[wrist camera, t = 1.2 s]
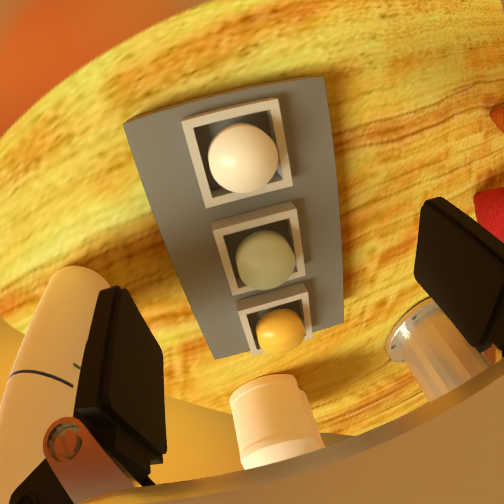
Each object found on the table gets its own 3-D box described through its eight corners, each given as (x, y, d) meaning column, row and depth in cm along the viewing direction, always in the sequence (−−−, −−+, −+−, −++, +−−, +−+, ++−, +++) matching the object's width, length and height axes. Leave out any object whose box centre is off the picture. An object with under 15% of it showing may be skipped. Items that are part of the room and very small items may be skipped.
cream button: (265, 116, 19) (271, 120, 18) (277, 176, 22) (283, 183, 20) (200, 132, 19) (201, 136, 18) (216, 191, 21) (218, 200, 20)
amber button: (297, 303, 28) (303, 315, 27) (302, 334, 30) (307, 346, 29) (251, 316, 28) (254, 329, 26) (260, 346, 30) (263, 358, 29)
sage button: (285, 223, 24) (291, 234, 22) (292, 269, 26) (298, 281, 25) (229, 239, 23) (232, 250, 22) (242, 283, 26) (245, 295, 24)
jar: (220, 390, 40) (238, 493, 28) (287, 364, 40) (322, 468, 27) (254, 421, 46) (274, 504, 34) (310, 400, 46) (340, 483, 33)
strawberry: (453, 185, 30) (516, 228, 22) (493, 164, 29) (553, 199, 21) (455, 227, 33) (509, 274, 25) (493, 204, 33) (546, 243, 24)
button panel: (309, 75, 22) (332, 77, 18) (333, 304, 35) (348, 331, 32) (130, 118, 21) (118, 127, 18) (212, 339, 35) (216, 370, 31)
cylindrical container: (63, 252, 26) (-25, 533, 5) (126, 288, 29) (106, 572, 8) (41, 300, 28) (-21, 534, 7) (97, 331, 31) (75, 566, 10)
